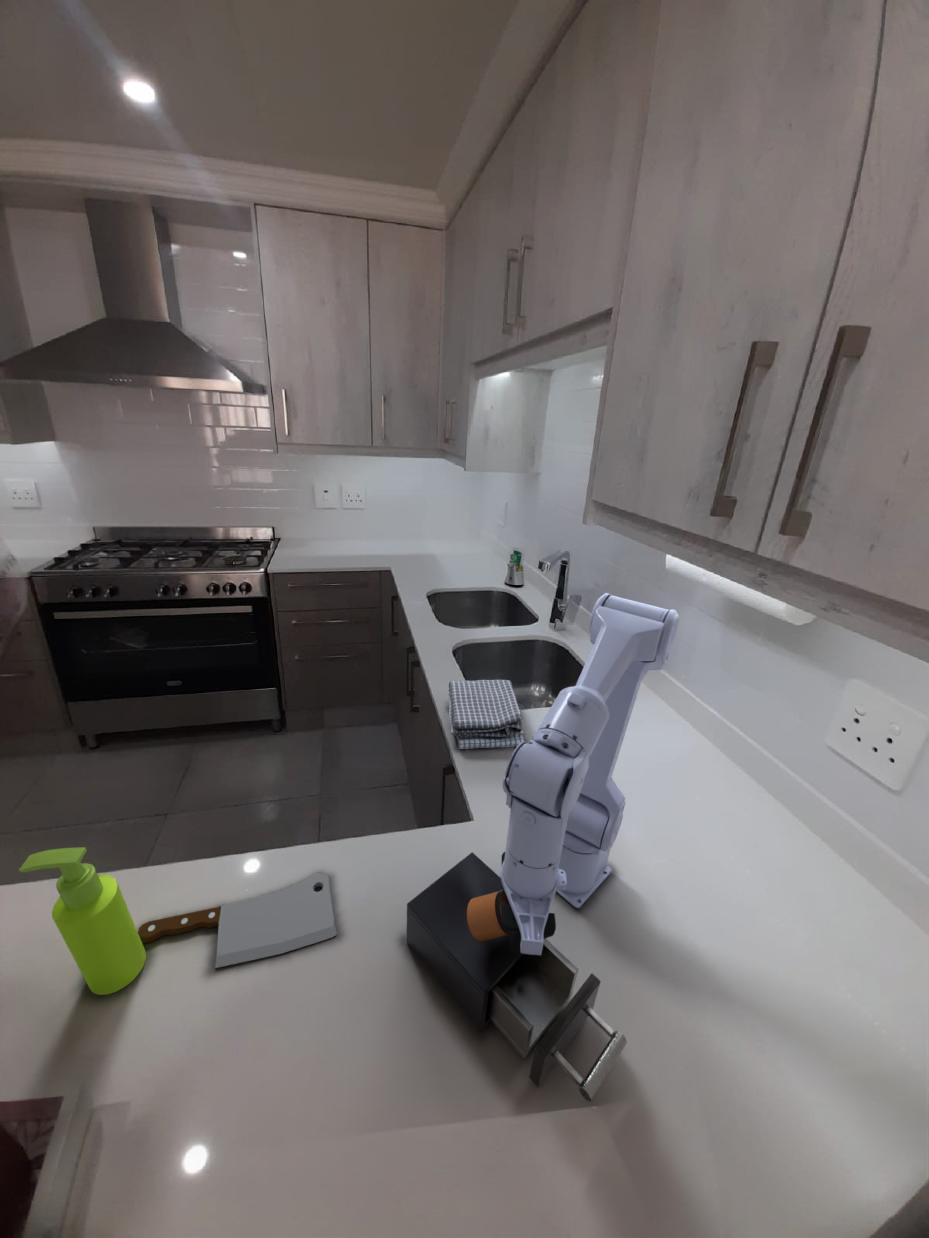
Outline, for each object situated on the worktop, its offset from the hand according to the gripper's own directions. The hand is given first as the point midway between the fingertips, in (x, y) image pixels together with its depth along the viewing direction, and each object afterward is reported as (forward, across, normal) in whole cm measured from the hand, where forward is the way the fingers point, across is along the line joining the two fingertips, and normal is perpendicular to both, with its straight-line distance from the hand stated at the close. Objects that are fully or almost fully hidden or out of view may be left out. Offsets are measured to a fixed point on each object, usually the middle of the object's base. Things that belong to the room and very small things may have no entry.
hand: (520, 929), depth 56 cm
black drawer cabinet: (+10, +3, +5) cm, 12 cm away
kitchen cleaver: (+10, +3, +36) cm, 38 cm away
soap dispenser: (+10, -4, +49) cm, 50 cm away
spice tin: (0, +1, +5) cm, 5 cm away
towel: (+10, +52, +6) cm, 53 cm away
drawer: (+9, -4, -3) cm, 10 cm away
